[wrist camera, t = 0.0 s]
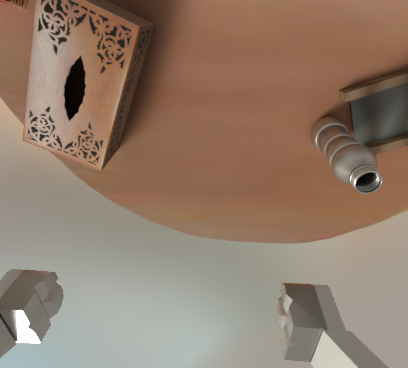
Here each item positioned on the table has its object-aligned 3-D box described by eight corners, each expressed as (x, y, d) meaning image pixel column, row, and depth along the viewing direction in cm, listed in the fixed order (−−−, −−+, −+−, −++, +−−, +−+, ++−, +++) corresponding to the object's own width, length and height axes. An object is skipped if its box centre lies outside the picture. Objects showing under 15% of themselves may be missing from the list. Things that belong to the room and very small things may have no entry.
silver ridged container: (325, 106, 54) (371, 152, 37) (350, 126, 55) (405, 179, 38) (300, 133, 57) (332, 186, 40) (325, 151, 58) (365, 209, 41)
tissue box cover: (72, -17, 46) (37, -23, 38) (155, 23, 48) (140, 26, 40) (52, 121, 59) (22, 140, 51) (118, 148, 61) (101, 171, 53)
